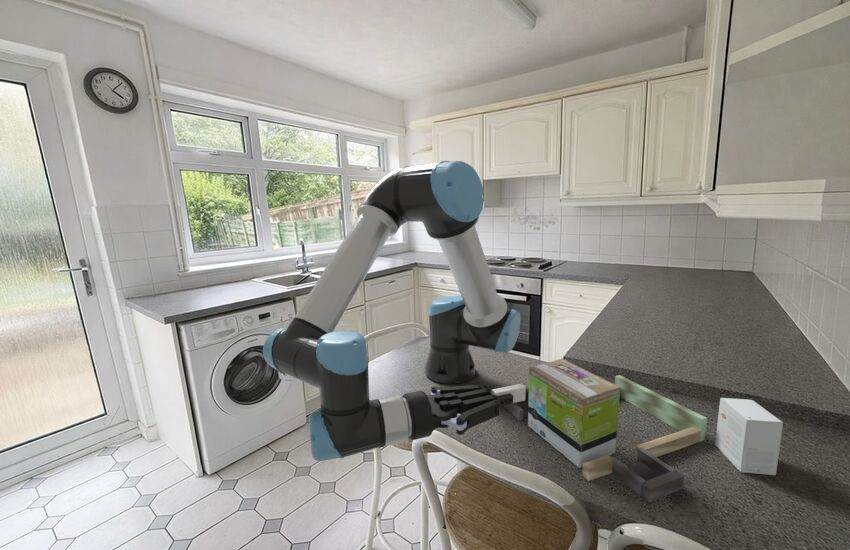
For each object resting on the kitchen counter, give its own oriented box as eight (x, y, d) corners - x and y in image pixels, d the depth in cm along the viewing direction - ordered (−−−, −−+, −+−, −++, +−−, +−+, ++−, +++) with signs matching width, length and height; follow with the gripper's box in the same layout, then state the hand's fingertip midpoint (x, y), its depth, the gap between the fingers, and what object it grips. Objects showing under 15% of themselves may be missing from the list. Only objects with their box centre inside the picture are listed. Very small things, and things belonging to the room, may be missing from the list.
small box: (776, 476, 63) (785, 422, 61) (739, 473, 64) (747, 420, 62) (745, 447, 70) (752, 398, 69) (713, 444, 71) (719, 396, 70)
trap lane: (500, 403, 89) (500, 385, 88) (596, 380, 99) (597, 364, 98) (621, 513, 56) (623, 486, 55) (746, 462, 66) (749, 438, 65)
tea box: (525, 427, 79) (527, 365, 76) (560, 416, 83) (562, 356, 80) (579, 470, 65) (583, 397, 63) (617, 454, 69) (622, 385, 67)
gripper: (395, 417, 67) (504, 394, 74) (418, 461, 54) (544, 428, 62) (394, 380, 65) (504, 360, 73) (417, 416, 53) (546, 388, 61)
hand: (523, 391), depth 68 cm, fingers closed
